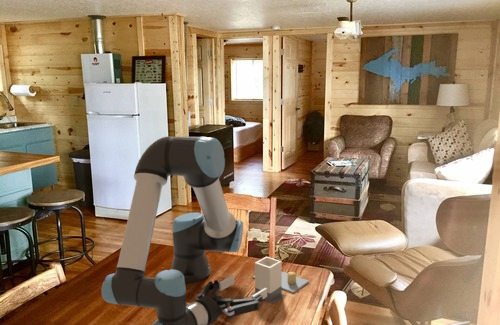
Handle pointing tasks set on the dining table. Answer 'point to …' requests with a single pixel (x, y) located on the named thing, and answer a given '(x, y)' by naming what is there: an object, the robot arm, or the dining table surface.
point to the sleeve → (269, 277)
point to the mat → (274, 299)
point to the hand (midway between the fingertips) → (249, 285)
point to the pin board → (291, 287)
